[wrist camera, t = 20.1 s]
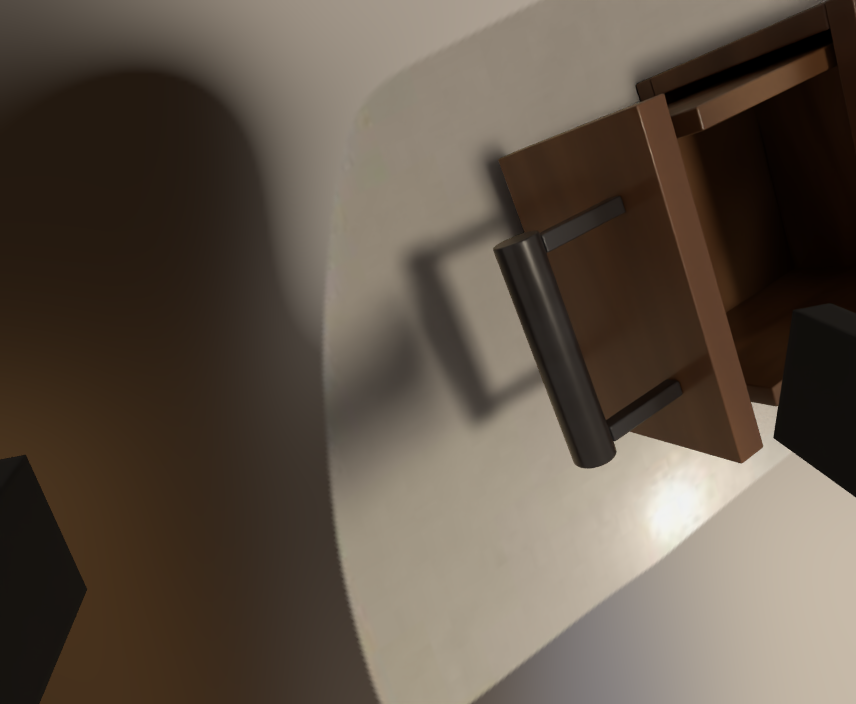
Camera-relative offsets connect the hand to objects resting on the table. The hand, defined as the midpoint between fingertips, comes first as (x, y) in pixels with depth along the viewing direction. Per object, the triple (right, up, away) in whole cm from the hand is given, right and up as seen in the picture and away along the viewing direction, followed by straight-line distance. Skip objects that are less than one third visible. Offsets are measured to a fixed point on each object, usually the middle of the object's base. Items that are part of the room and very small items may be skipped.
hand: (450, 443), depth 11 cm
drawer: (+9, +6, +18) cm, 21 cm away
